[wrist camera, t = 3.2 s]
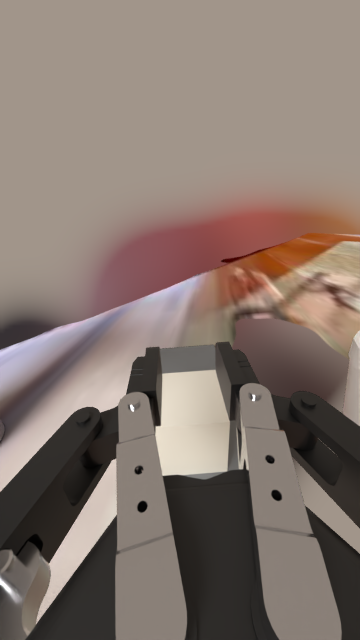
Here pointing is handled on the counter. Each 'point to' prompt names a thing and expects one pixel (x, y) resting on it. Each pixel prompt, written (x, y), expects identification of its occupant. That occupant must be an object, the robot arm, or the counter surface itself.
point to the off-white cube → (192, 424)
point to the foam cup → (353, 383)
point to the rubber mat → (199, 361)
